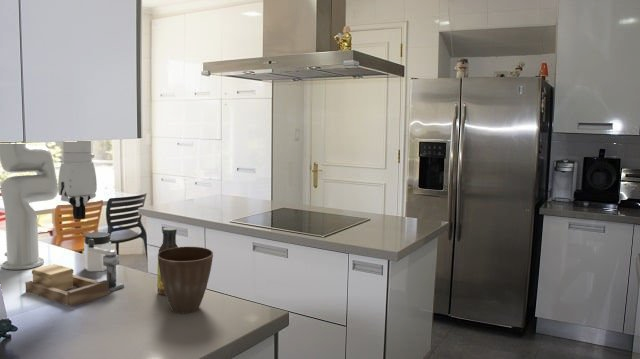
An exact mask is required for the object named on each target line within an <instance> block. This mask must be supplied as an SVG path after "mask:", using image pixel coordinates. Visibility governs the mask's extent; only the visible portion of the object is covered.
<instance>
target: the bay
mask: <svg viewBox="0 0 640 359" xmlns="http://www.w3.org/2000/svg"><path fill="white" fill-rule="evenodd" d="M24 287H25V293H28V294H32V295H35V296H37V297H41V298H44V299H47V300H50V301H53V302H56V303H58V304H62V305H65V306H68V307H74V306H77V305H79V304H84V303H86V302H88V301H89V302H90V301H92V300H94V299H98V298H101V297H103V296H107V295H109V294H110V292H109V282H108V281H107V279H106V280H105V279H104V280H101V281H99V280H96V279H95V280H94V279H90V278H87V277H84V276H80V275H78V274H77V275H76V274H73V288H75V289H71V290H68V291H66V290H64V291H63V290H60V289H56V288H53V287H50V286H46V285H43V284H40V283H37V282H33V280H28V281H25V286H24Z"/></svg>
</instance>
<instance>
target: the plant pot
mask: <svg viewBox="0 0 640 359" xmlns="http://www.w3.org/2000/svg"><path fill="white" fill-rule="evenodd" d="M213 258H214V252H213V250H211V249H209V248H205V247H200V246H178V247H176V248H170V249H166V250H163V251H161V252H159V251H158V253H157V263H158V262H159V268H160V274H161V278H162V282H163V286H164V290H165V293H166V295H165V296H166V298H167V300H168V301H167V302H168V303H169V306H170V309H171V311H172V312H175V313H177V314H191V313H194V312H196V311H198V310H199V308H200V307H201V304H202V301H203V298H204V296H205V292H206V289H207V286H208V283H209V278H210V274H211V270H212V265H213Z"/></svg>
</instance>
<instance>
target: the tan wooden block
mask: <svg viewBox="0 0 640 359" xmlns="http://www.w3.org/2000/svg"><path fill="white" fill-rule="evenodd" d="M31 274H32V281H33V282H37V283H40V284H43V285H46V286H50V287H53V288H56V289H60V290H63V291H66V290H69V289H73V288H74V287H73V275H74V269H73V268H71V267H66V266H63V265H61V264H56V263H53V264H49V265H45V266H41V267H36V268H34V269H33V268H32V270H31Z"/></svg>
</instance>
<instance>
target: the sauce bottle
mask: <svg viewBox="0 0 640 359" xmlns="http://www.w3.org/2000/svg"><path fill="white" fill-rule="evenodd" d="M176 238H177V228H175V227H164V228H162V244H161V246H160V247H159V248H158V253H159V252H161V251H163V250H166V249H170V248H176V247H179V246H178V244H177V240H176ZM156 274H157V276H156V278H157V280H156V281H157V282H156V287H157V291H156V292H157V293H158V294H160V295H165V296H166V293H165V290H164V286H163V282H162V278H161V274H160V268H159V262H158V261H157V272H156Z"/></svg>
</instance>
